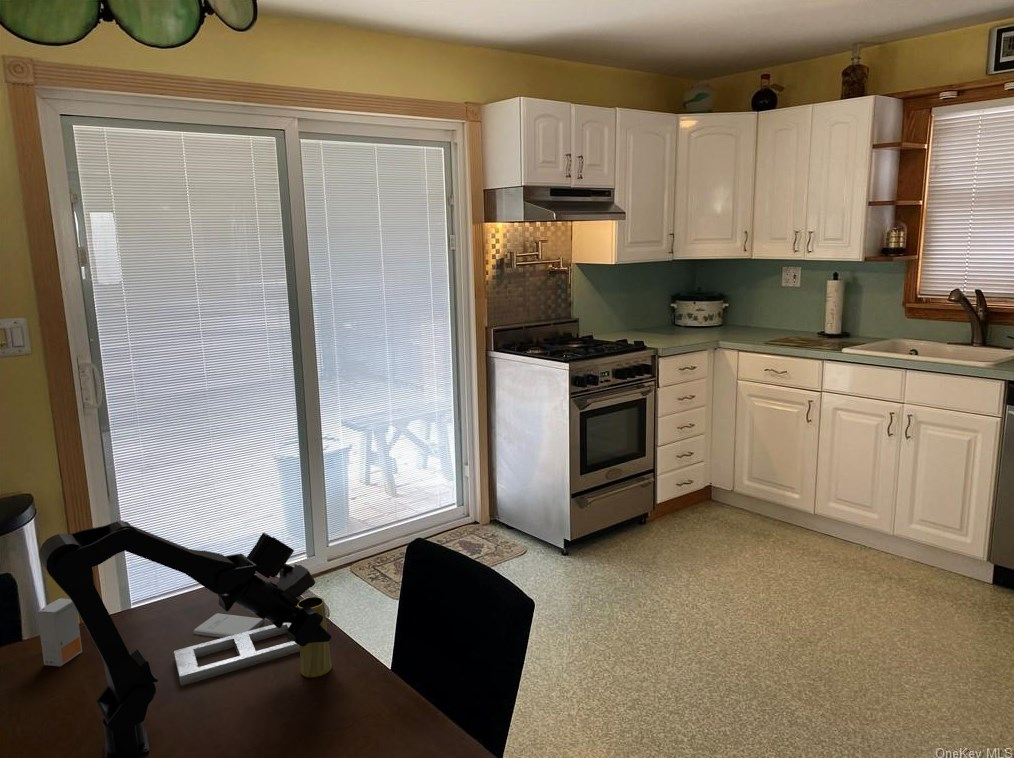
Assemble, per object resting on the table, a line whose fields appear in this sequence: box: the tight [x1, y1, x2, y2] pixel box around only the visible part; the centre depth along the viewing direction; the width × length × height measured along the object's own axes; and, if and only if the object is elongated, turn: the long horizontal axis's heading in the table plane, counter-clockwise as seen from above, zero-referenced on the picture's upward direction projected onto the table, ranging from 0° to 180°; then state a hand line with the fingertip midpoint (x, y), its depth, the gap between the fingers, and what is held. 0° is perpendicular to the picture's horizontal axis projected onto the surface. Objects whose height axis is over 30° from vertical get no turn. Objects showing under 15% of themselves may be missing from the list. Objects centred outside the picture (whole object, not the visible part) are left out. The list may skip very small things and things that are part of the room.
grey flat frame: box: [173, 623, 300, 687], centre depth 153 cm, size 11×26×2 cm, turn 120°
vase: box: [296, 596, 333, 678], centre depth 145 cm, size 6×6×14 cm
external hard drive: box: [193, 612, 265, 639], centre depth 164 cm, size 2×8×12 cm
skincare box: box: [36, 598, 83, 667], centre depth 152 cm, size 6×4×12 cm
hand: (318, 630), depth 146 cm, fingers open, 9 cm apart
